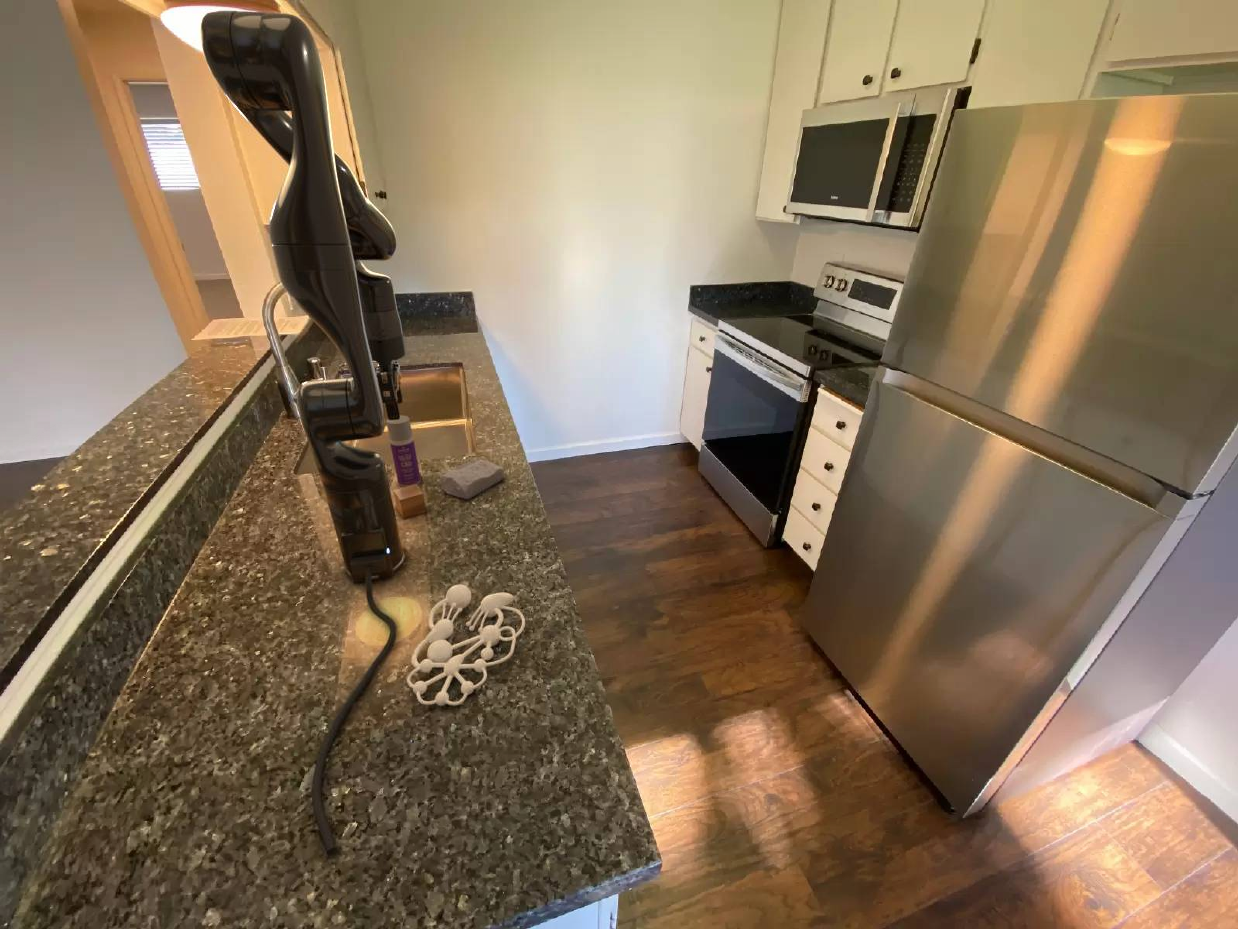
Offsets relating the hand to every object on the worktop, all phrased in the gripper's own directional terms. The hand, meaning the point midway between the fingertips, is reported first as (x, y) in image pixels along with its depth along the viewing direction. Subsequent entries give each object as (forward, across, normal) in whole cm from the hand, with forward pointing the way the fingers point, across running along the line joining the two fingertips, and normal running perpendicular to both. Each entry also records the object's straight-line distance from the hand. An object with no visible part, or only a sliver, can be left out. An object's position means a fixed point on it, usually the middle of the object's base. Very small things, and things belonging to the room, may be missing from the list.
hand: (396, 411), depth 107 cm
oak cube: (+17, +12, +1) cm, 21 cm away
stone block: (+17, +4, +13) cm, 22 cm away
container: (+17, 0, 0) cm, 17 cm away
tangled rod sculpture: (+17, +51, +11) cm, 55 cm away
